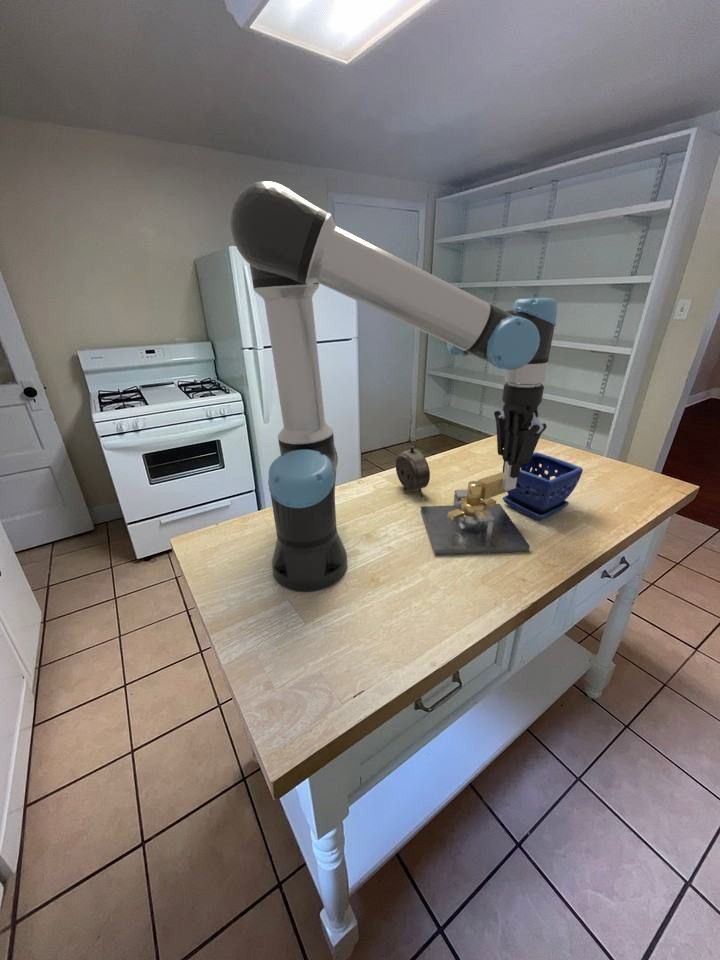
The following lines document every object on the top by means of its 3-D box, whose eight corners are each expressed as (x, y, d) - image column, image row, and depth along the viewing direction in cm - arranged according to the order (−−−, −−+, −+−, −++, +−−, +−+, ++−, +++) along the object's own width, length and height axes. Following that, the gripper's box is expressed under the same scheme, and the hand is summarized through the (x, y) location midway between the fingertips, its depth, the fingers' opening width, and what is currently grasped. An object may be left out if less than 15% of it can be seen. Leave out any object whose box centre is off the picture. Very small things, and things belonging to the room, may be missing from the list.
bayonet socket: (434, 555, 81) (436, 526, 77) (420, 511, 97) (421, 486, 94) (528, 552, 81) (534, 523, 78) (498, 508, 97) (502, 483, 94)
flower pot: (541, 528, 89) (551, 482, 84) (495, 504, 99) (501, 462, 94) (574, 511, 95) (585, 467, 90) (527, 490, 105) (535, 450, 100)
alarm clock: (429, 497, 103) (433, 441, 96) (413, 502, 101) (415, 444, 94) (407, 481, 112) (409, 428, 105) (391, 485, 110) (392, 432, 103)
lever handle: (458, 523, 82) (461, 496, 79) (442, 513, 86) (444, 486, 83) (515, 502, 89) (519, 476, 86) (498, 493, 93) (501, 468, 90)
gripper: (564, 387, 72) (543, 497, 82) (516, 376, 83) (502, 474, 93) (533, 391, 70) (515, 504, 80) (487, 379, 81) (477, 480, 91)
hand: (508, 488), depth 87 cm, fingers closed
